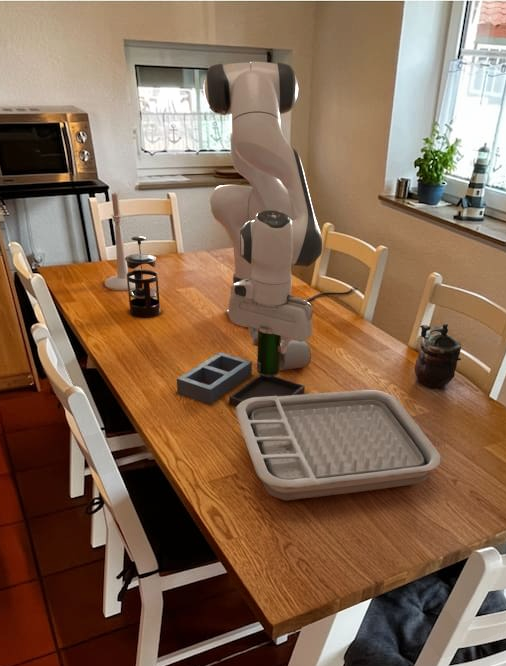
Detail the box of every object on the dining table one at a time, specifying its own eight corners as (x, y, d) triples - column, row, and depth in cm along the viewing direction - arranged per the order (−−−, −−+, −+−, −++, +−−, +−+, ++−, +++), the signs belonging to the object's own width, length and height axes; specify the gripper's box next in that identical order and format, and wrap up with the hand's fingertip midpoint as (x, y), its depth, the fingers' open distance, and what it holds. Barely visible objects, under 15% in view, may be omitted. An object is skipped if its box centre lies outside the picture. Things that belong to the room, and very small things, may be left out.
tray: (262, 379, 151) (262, 372, 150) (304, 393, 147) (304, 385, 146) (229, 404, 139) (229, 396, 138) (273, 419, 135) (273, 411, 134)
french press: (165, 316, 181) (160, 241, 169) (134, 320, 177) (127, 243, 164) (154, 303, 189) (148, 230, 177) (124, 306, 185) (117, 232, 173)
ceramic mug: (312, 371, 157) (314, 344, 153) (283, 375, 154) (284, 348, 150) (296, 354, 165) (297, 329, 161) (269, 358, 162) (270, 332, 158)
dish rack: (445, 497, 115) (453, 464, 111) (261, 523, 105) (262, 488, 101) (383, 414, 140) (388, 385, 136) (231, 429, 130) (230, 398, 126)
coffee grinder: (395, 385, 154) (406, 320, 144) (422, 367, 164) (433, 305, 154) (439, 402, 147) (453, 336, 138) (463, 382, 158) (478, 319, 148)
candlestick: (96, 283, 201) (84, 191, 185) (126, 275, 210) (117, 186, 194) (121, 293, 195) (111, 198, 179) (151, 284, 204) (144, 193, 188)
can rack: (220, 365, 156) (220, 351, 154) (251, 375, 153) (252, 361, 150) (177, 393, 142) (176, 378, 140) (210, 404, 139) (210, 389, 137)
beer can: (263, 379, 136) (265, 331, 129) (252, 369, 140) (253, 322, 133) (283, 374, 139) (286, 327, 132) (272, 365, 142) (274, 318, 136)
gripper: (319, 297, 127) (315, 355, 135) (240, 277, 134) (240, 333, 142) (306, 305, 122) (302, 365, 130) (224, 284, 130) (225, 342, 137)
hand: (269, 348), depth 136 cm, fingers closed on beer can, 5 cm apart
